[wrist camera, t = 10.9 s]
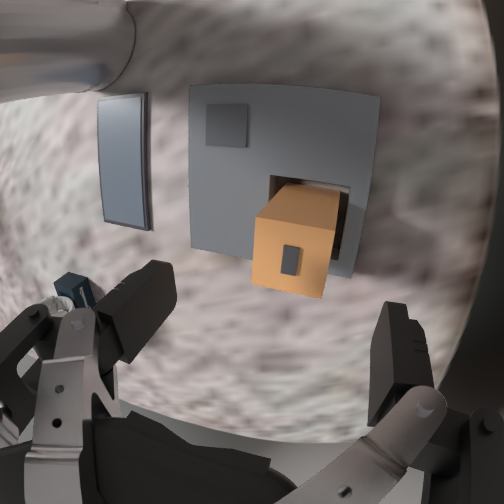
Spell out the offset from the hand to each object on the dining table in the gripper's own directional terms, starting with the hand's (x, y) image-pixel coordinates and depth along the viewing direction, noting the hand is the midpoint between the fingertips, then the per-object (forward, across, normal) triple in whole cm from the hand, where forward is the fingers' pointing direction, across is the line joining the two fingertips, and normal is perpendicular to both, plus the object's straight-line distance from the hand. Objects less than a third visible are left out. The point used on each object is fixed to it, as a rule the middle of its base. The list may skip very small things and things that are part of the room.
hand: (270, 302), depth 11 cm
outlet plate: (+13, +3, -2) cm, 13 cm away
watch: (+13, +29, +16) cm, 36 cm away
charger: (+13, 0, +1) cm, 13 cm away
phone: (+14, +18, -2) cm, 22 cm away
